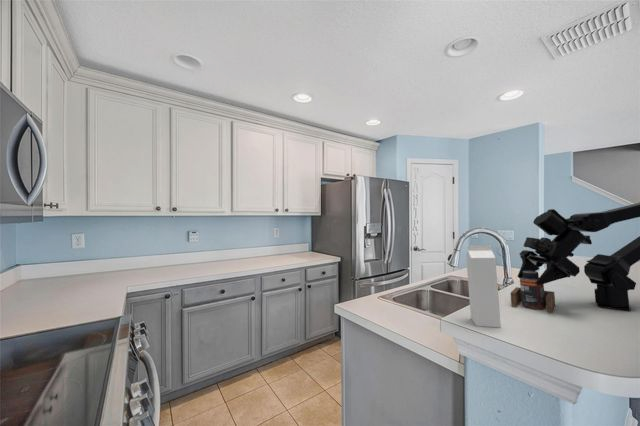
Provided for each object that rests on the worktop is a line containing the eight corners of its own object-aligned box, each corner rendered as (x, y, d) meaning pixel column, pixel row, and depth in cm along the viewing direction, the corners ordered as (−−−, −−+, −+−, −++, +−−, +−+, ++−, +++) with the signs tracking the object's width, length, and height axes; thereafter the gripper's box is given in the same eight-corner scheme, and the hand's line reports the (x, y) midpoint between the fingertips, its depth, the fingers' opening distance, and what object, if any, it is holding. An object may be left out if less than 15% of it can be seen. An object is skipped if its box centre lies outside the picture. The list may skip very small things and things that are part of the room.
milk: (470, 318, 76) (464, 244, 77) (494, 319, 74) (487, 243, 75) (476, 326, 70) (469, 246, 72) (501, 328, 69) (494, 245, 70)
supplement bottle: (544, 305, 83) (541, 270, 84) (547, 311, 78) (543, 274, 79) (521, 302, 87) (518, 269, 87) (522, 308, 82) (519, 272, 82)
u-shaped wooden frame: (555, 305, 82) (554, 291, 82) (552, 313, 76) (550, 298, 77) (517, 300, 90) (516, 287, 90) (511, 306, 84) (510, 292, 84)
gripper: (522, 227, 92) (492, 259, 93) (564, 229, 74) (525, 269, 75) (549, 248, 91) (517, 280, 92) (598, 255, 72) (557, 295, 73)
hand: (527, 280), depth 83 cm, fingers open, 9 cm apart
